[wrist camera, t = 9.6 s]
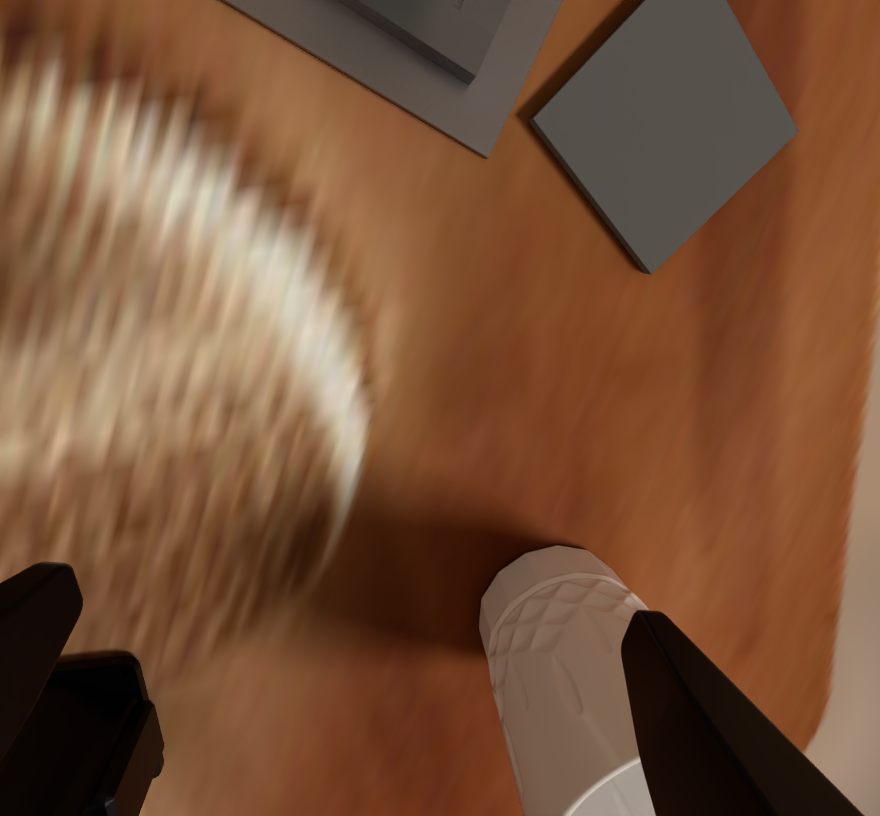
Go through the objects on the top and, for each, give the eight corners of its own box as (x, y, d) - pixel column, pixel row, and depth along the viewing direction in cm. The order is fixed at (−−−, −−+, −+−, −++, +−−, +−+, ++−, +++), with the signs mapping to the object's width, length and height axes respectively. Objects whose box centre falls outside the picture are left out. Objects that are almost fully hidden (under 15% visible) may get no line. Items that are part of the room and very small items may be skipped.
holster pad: (644, 273, 20) (651, 274, 19) (528, 121, 17) (533, 118, 17) (787, 133, 19) (798, 131, 18) (686, -46, 16) (696, -54, 16)
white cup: (471, 535, 22) (559, 756, 13) (639, 528, 23) (830, 723, 14) (460, 679, 24) (525, 952, 15) (612, 665, 26) (760, 908, 16)
